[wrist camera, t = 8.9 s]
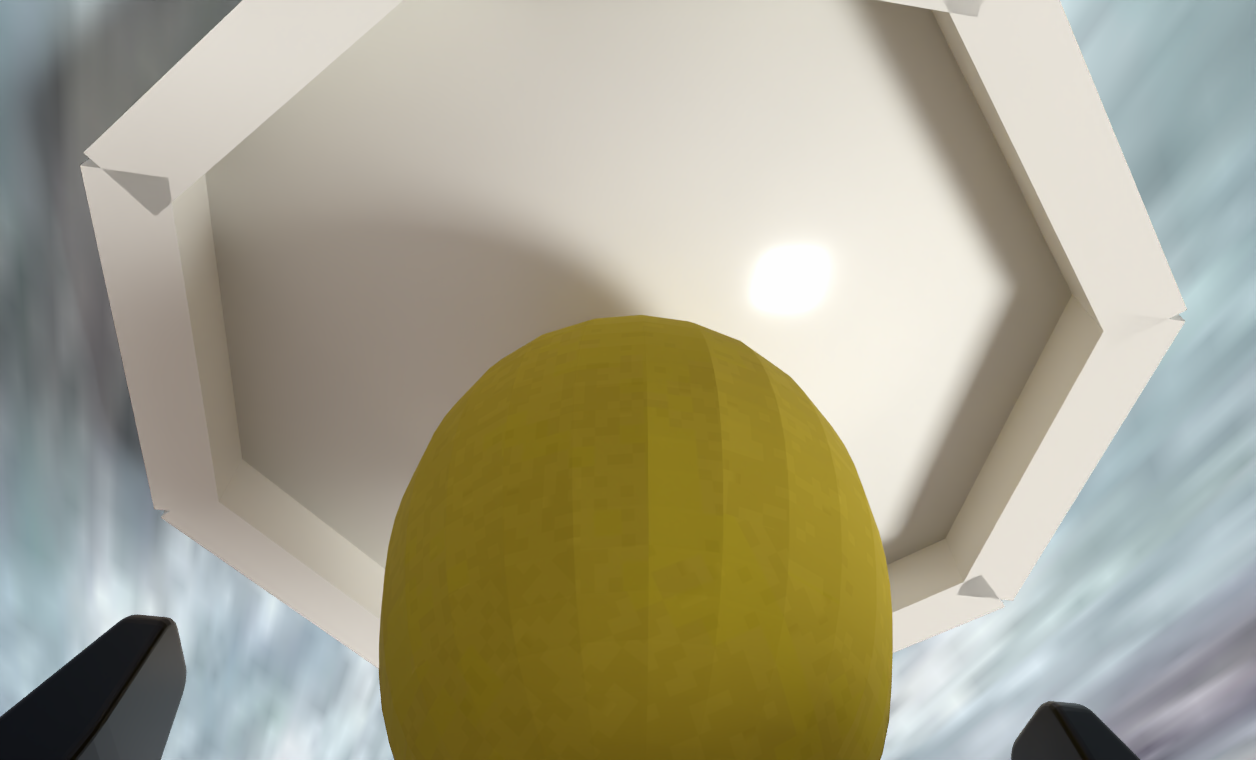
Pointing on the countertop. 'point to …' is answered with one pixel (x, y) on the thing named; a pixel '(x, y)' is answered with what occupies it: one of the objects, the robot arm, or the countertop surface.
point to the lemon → (635, 563)
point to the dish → (626, 257)
